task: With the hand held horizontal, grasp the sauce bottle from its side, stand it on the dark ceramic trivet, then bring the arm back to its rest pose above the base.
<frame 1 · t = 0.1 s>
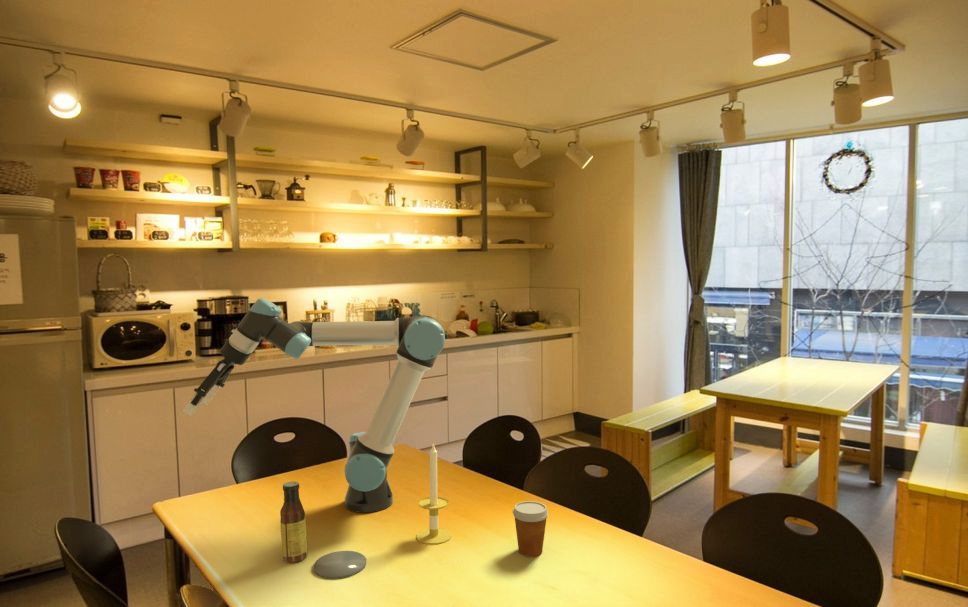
hand: (195, 408, 173), 36 cm above the table, tool tilted 35°, fingers open, 13 cm apart
disposable coffee cup: (530, 551, 162), on the table
sauce bottle: (294, 558, 158), on the table
candle: (433, 537, 170), on the table
trivet: (340, 565, 154), on the table
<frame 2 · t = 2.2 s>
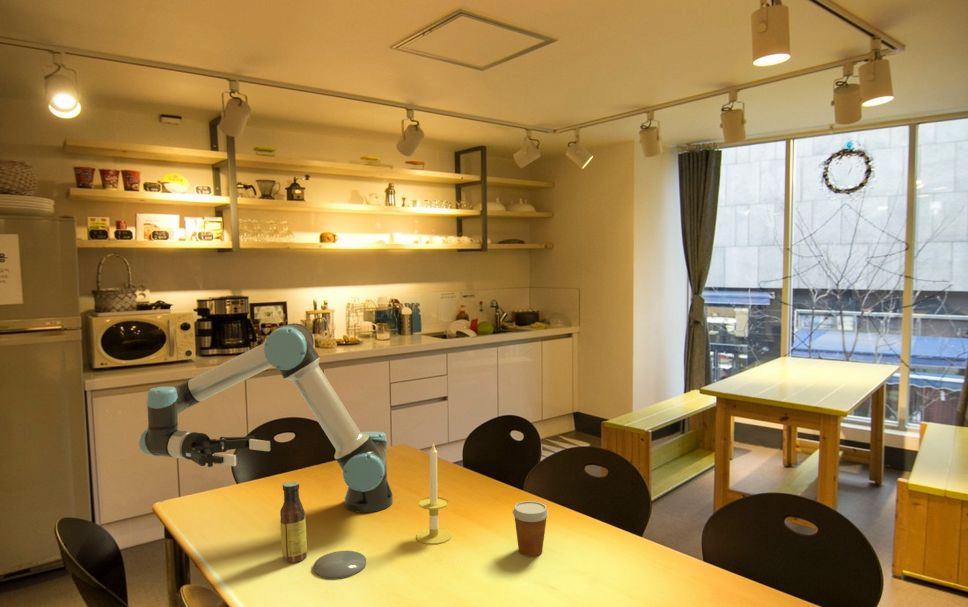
hand: (253, 453, 163), 26 cm above the table, tool horizontal, fingers open, 13 cm apart
nothing on the table moved.
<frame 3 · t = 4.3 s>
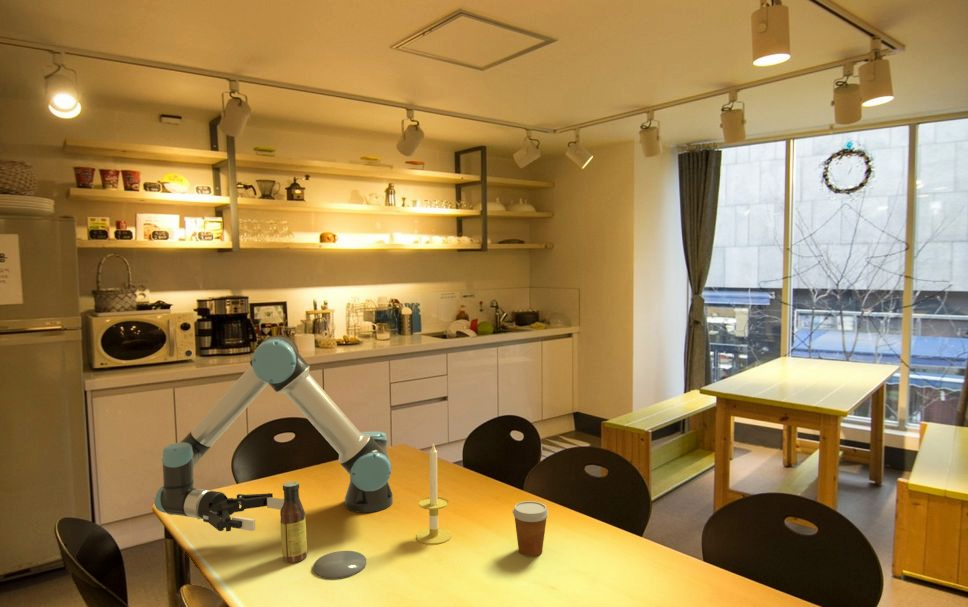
hand: (271, 514, 159), 11 cm above the table, tool horizontal, fingers open, 13 cm apart
nothing on the table moved.
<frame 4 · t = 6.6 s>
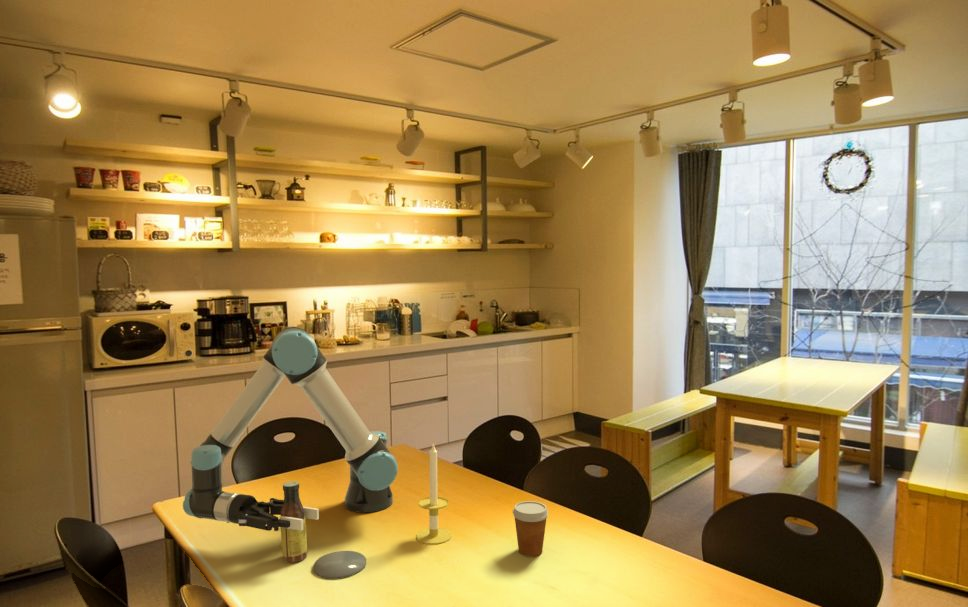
hand: (310, 519, 156), 11 cm above the table, tool horizontal, fingers closed on sauce bottle, 6 cm apart
sauce bottle: (294, 558, 158), on the table, touching gripper
everything else where it was.
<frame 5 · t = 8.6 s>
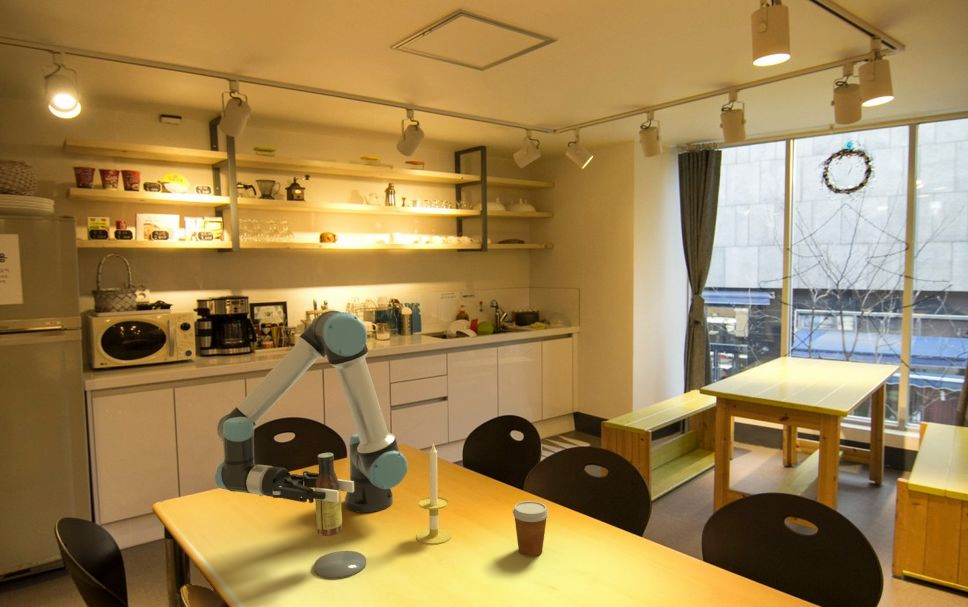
hand: (345, 491, 151), 20 cm above the table, tool horizontal, fingers closed on sauce bottle, 6 cm apart
sauce bottle: (329, 532, 153), point 9 cm above the table, touching gripper
everything else where it was.
when the fingers open (13 cm above the table, at t = 10.5 s): sauce bottle stays where it is, resting on trivet.
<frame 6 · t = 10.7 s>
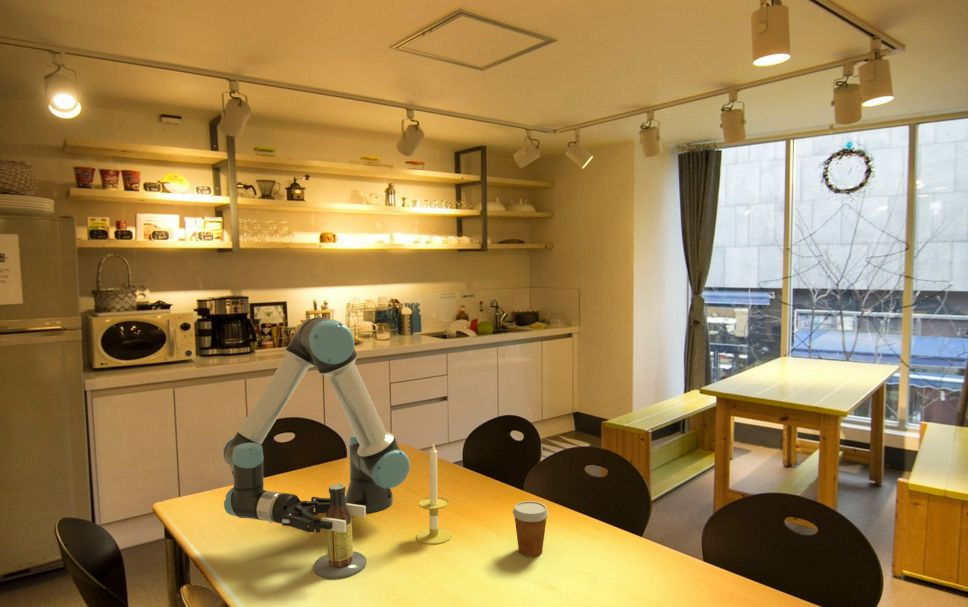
hand: (355, 518, 152), 13 cm above the table, tool horizontal, fingers open, 9 cm apart
sauce bottle: (340, 563, 154), point 1 cm above the table, touching trivet
everything else where it was.
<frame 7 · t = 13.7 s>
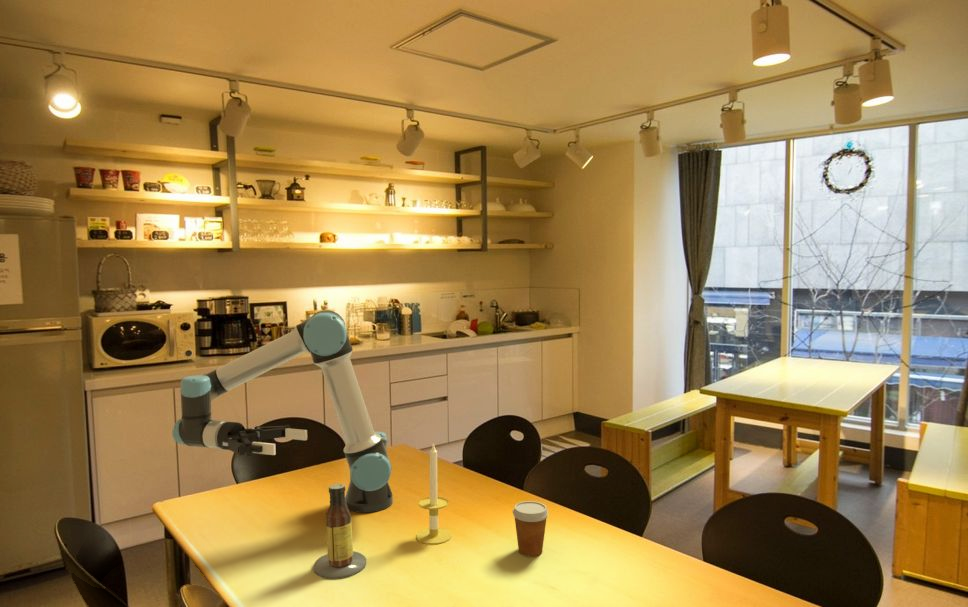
hand: (291, 442, 159), 30 cm above the table, tool horizontal, fingers open, 13 cm apart
nothing on the table moved.
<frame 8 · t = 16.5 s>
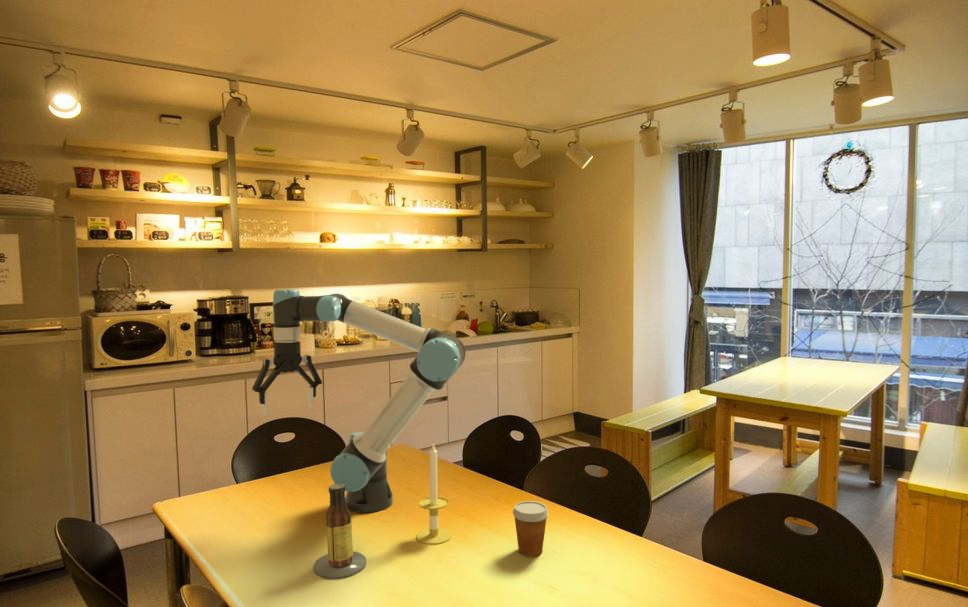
hand: (288, 411, 181), 33 cm above the table, tool pointing down, fingers open, 13 cm apart
nothing on the table moved.
at the end: sauce bottle 0.1 cm from the trivet (horizontally); sauce bottle tilted 0°; the gripper is holding nothing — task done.
